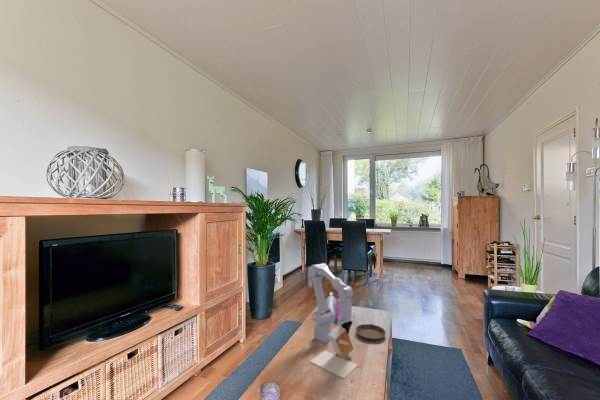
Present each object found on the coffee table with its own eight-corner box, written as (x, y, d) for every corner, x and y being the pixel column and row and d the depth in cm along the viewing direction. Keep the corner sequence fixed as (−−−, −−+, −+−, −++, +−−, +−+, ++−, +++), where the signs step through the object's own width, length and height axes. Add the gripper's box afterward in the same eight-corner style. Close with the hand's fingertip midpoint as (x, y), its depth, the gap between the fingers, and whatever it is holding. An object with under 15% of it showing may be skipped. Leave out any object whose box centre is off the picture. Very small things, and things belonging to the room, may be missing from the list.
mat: (310, 362, 135) (310, 361, 135) (324, 351, 145) (324, 350, 145) (343, 378, 122) (343, 378, 122) (357, 365, 132) (357, 365, 132)
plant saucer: (389, 343, 154) (389, 337, 154) (359, 343, 154) (359, 337, 154) (380, 328, 172) (380, 324, 172) (353, 328, 172) (353, 323, 172)
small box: (343, 359, 138) (335, 339, 135) (335, 353, 143) (327, 334, 140) (354, 348, 142) (346, 329, 139) (346, 343, 147) (338, 324, 144)
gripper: (345, 315, 135) (345, 342, 135) (359, 307, 146) (359, 332, 146) (333, 312, 140) (334, 338, 140) (347, 304, 151) (348, 328, 151)
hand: (346, 334), depth 143 cm, fingers closed
